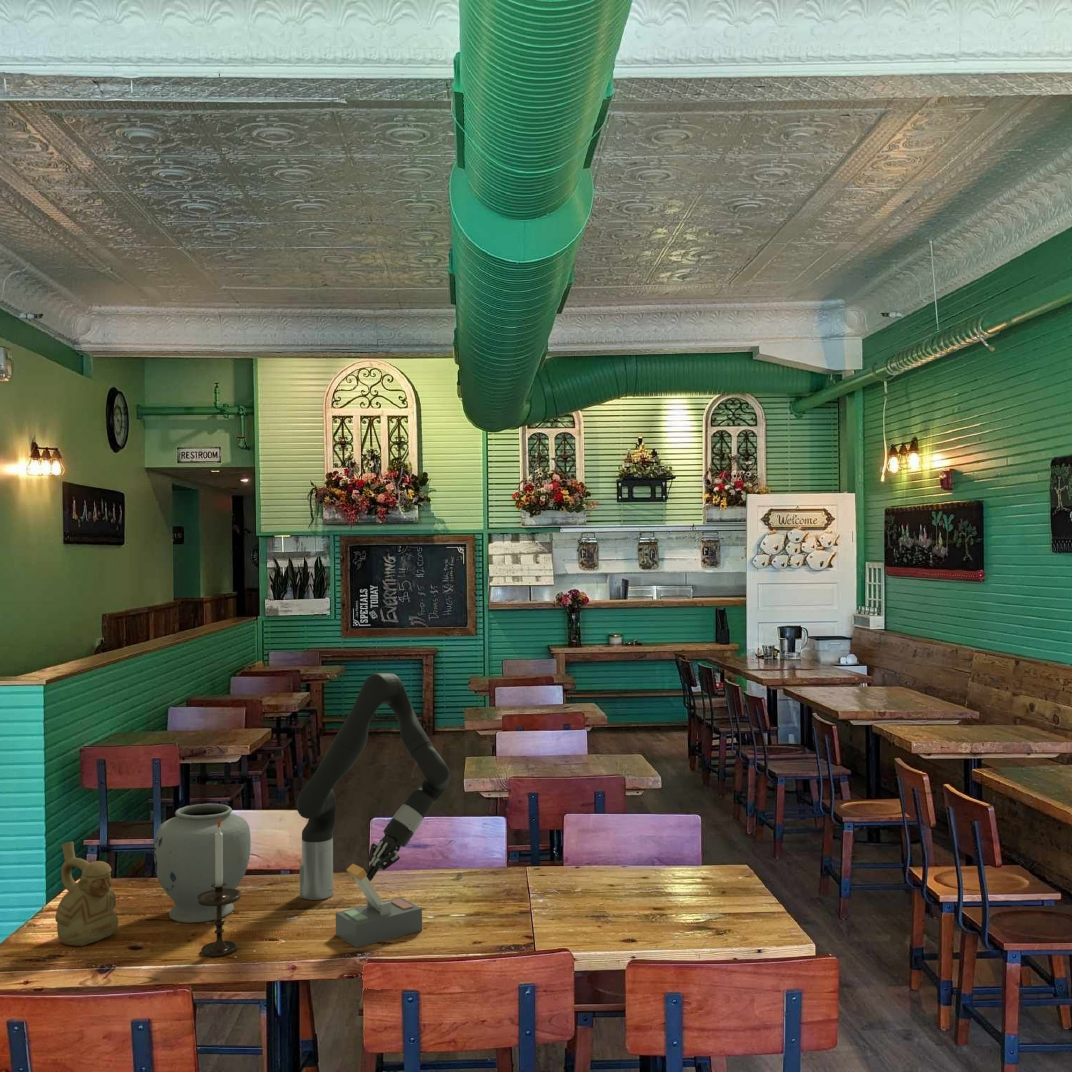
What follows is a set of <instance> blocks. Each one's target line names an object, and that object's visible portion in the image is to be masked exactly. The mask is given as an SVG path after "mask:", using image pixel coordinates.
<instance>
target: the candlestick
mask: <svg viewBox="0 0 1072 1072" xmlns="http://www.w3.org/2000/svg"><path fill="white" fill-rule="evenodd" d="M221 820H222V819H221V817H220V819H219V821H218V824H217V826H218V827H220V824H221ZM226 885H227V884H226V883H223V833H221V831H220V828H218V830H217V833H216V834H215V884H213V885H211V887H214V888H215V890H210V891H206V892H204V893H201V894H200V895H198V897H197V902H198V904H200V905H204V906H217V919H215V920H213V925H214V926H215V930H214V932H213V933H214V934H216V940H215V941H213V942H210V943H207V944H205V945H202V947H201V950H200V951H201V953H200V954H201V955H202V956H203V957H206V958H222V957H226V956H229V955H232V954H234V953H236V952H237V950H238V943H236V942H235V941H232V940H223V933H224V932H225V929H223V926H224V925H225V923H226V922H225V921H226V920H225V919H224V918H223V917H222V905H227V904H231V903H232V904H233V903H236V902H238V901H239V900H241V897H242V892H241V891H240V890H238V889H237V888H236V889H229V888H224V889H223V887H224V886H226Z"/></svg>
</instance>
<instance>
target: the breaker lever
mask: <svg viewBox="0 0 1072 1072" xmlns="http://www.w3.org/2000/svg"><path fill="white" fill-rule="evenodd" d="M346 872H347V873H348V875H349V876H351V877H352V878H353V879H354V882H356V884H357V885H358V887H359V888H360V890H361V892H362V893H363V895H364V896H365V898H366V901H367V900H368V901H369V903H370V904H371V906H373V907H374V908H376V909H378V910H380V904H382V903H383V901H384V900H382V898H381V897H380V895H379V894H378V892H377V890H376V889H375V887H374V886H373V884H372V883H371V881H369V880H368V878H367V873H366V870H365V869H364V868H363V867H361V866H359V865H357V864H355V863H352V864H350V865H349V866H348V867H347V868H346Z"/></svg>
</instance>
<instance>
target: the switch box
mask: <svg viewBox="0 0 1072 1072" xmlns="http://www.w3.org/2000/svg"><path fill="white" fill-rule="evenodd" d="M382 901H383V903H382V904H380V910H378V909H376V908H374V907H373V906H371V904H370V903H369V901H368V900H367V899H366V905H362V906H357V907H353V908H348V909H344V910H341V911H337V912H335V935H336V936H337V937H339V939H341V940H343V941H345V942H346V943H348V944H349V945H350V946H352V947H354V948H356V949H357V948H361V947H364V946H367V945H372V944H375V943H379V942H383V941H388V940H390V939H395V938H399V937H403V936H407V935H410V934H414V933H418V932H422V931H423V908H422V907H420V906H418V905H416V904H415V903H412V902H411V901H409V900H407V899H405V898H403V897H401V896H400V897H396V898H395V897H394V898H391V899H387V900H382Z"/></svg>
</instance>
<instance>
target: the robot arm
mask: <svg viewBox="0 0 1072 1072" xmlns="http://www.w3.org/2000/svg"><path fill="white" fill-rule="evenodd" d="M381 705H387V706H388V707H389V708H390V709H391V710H392V712H393V713H394V714H395V716H396V719H397V721H398V727H399V732H400V733H399V734H400V738H401V742H402V743H403V746H404V748H405V749H406V751H407V752H408V754H409V756H410V758H411V759H412V760H413V762H415V763H416V764H417V765H418V767H419V768H420V770H421V773H422V774H423V776H424V779H423V780H422V782H421V783H420V785H418V787H417V788H416V789H413V791H411V793H410V794H409V795H408V796H407V798H406V800H405V801H404V803H403V804H402V805H401V806H400V808H398V809H397V811H396V812H395V814H394V815H393V816H392V817H391V819H390V820H389V822H388V823H387V825H386V827H385V828H384V829H383V834H384V836H383V837H382V838H381V839H380V840H379V842H378V843H377V844H376V843H374V842H373V843H372V844H371V845H370V849H369V854H368V858H367V861H368V862H369V866H368V867H367V868H366V870H365V872H366V873H367V878H368V880H369V881H370V882H371V881H372V880H373V879H374V878H375V876H376V874H377V873H378V871H381V870H382V871H385V870H386V869H388V868H389V867H391V866H392V865H394V864H395V863H396V862H398V861H399V860H400V858H401V857H400V856H399V855H398V852H399V851H401V850H400V849H401V847H403V848H405V847H406V846H407V845H408V843H409V842H410V841H411V839H412V837H413V836H414V835H415V833H416V832H417V831H418V829H419V828H420V826H421V824H422V822H423V820H424V819H425V817H426V816H427V814H428V813H429V811H430V810H431V808H432V807H433V805H434V804H435V803H436V802H437V801H438V800H439V798H441V796H443V794H444V792H445V791H446V790H447V789H448V786H449V785H450V782H451V775H450V769H449V767H448V765H447V763H446V761H445V760H444V758H442V756H441V755H440V754H439V752H438V751H437V750H436V749H435V747H434V745H433V743H432V741H431V740H430V738H429V736H428V735H427V733H426V732H425V729H424V728H423V727H422V725H421V723H420V720H419V719H418V717H417V714H416V712H415V710H414V707H413V705H412V702H411V700H410V698H409V696H408V693H407V691H406V689H405V685H404V684H403V682H402V680H401V678H400V677H399V676H398V675H396V673H395V674H394V673H392V672H391V673H390V672H385V673H384V672H379V673H378V672H377V673H373V674H371V675H369V676H368V677H367V678H366V680H365V681H364V682H363V684H362V686H361V688H360V690H359V693H358V695H357V697H356V700H355V701H354V704H353V706H352V708H351V710H350V711H349V713H348V714H347V717H346V719H344V722H343V724H342V726H341V727H340V728H339V730H338V732H337V733H336V735H335V737H334V739H333V740H332V742H331V744H330V745H329V747H328V749H327V751H326V753H325V755H324V756H323V758H322V760H321V762H320V763H319V765H318V767H317V768H316V771H315V772H314V774H313V775H312V777H311V778H310V779H309V781H307V783H306V784H305V786H304V787H303V789H302V790H301V791H300V792H299V794H298V796H297V800H296V811H297V813H298V815H299V816H300V817H302V818H303V819H307V823H306V824H305V826H304V827H303V829H302V830H301V864H300V865H299V898H300V899H305V900H310V901H317V900H323V899H327V898H328V899H329V898H330V897H333V895H334V841H333V840H334V835H333V834H334V830H335V827H336V820H337V819H336V818H337V817H336V816H337V815H336V813H337V812H336V811H337V800H336V799H337V798H336V794H335V791H334V787H335V785H336V784H337V783H338V782H339V780H340V779H342V777H344V776H345V775H346V773H348V772H349V770H351V769H352V767H353V766H354V765H355V763H357V761H358V759H359V758H360V756H361V755H362V753H363V751H364V750H365V747H366V746H367V743H368V739H369V725H370V722H371V720H372V718H373V716H374V715H375V713H376V711H377V710H378V708H380V706H381Z"/></svg>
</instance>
